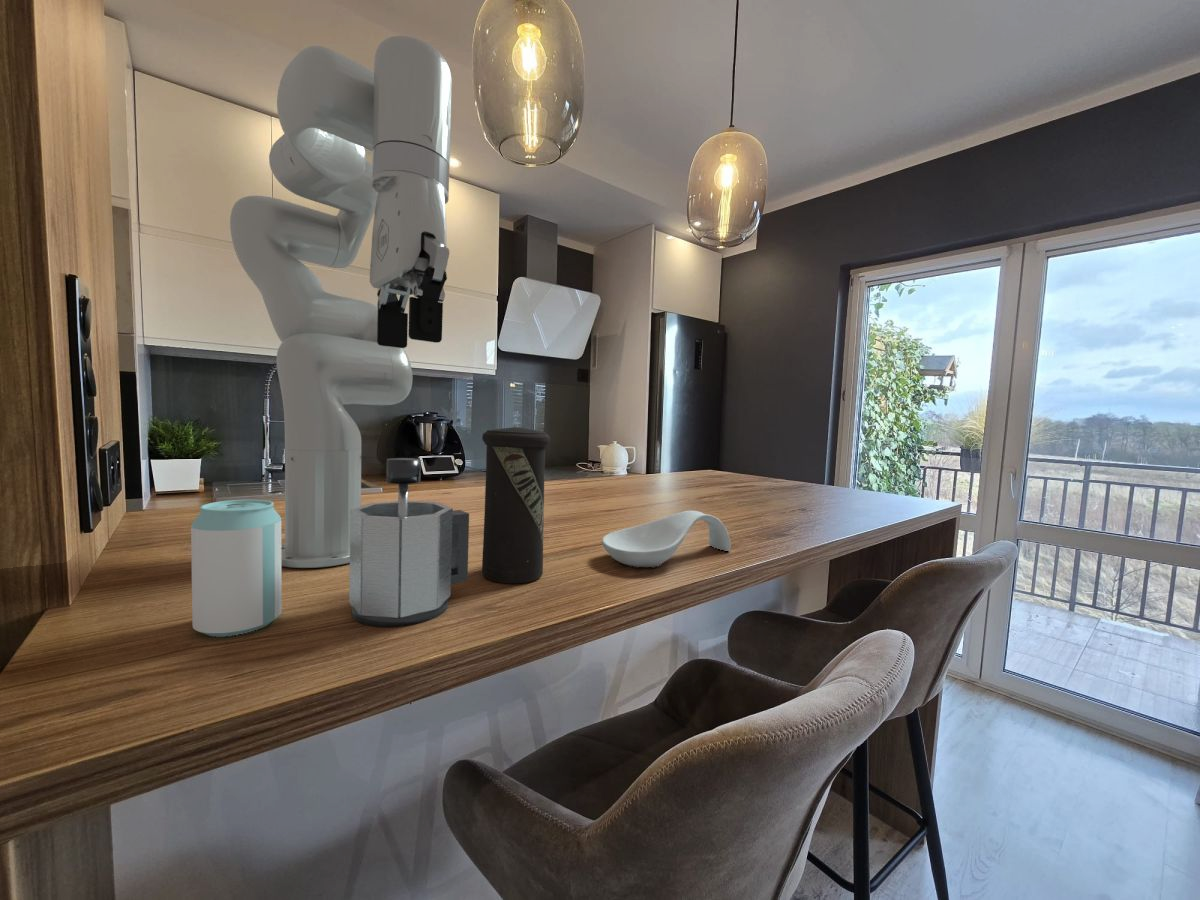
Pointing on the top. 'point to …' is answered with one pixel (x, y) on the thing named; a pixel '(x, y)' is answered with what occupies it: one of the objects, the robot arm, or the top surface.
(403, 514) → the plunger
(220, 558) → the can
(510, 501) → the container
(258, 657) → the top surface
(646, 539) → the spoon rest
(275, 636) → the top surface
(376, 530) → the octagonal grey mug
